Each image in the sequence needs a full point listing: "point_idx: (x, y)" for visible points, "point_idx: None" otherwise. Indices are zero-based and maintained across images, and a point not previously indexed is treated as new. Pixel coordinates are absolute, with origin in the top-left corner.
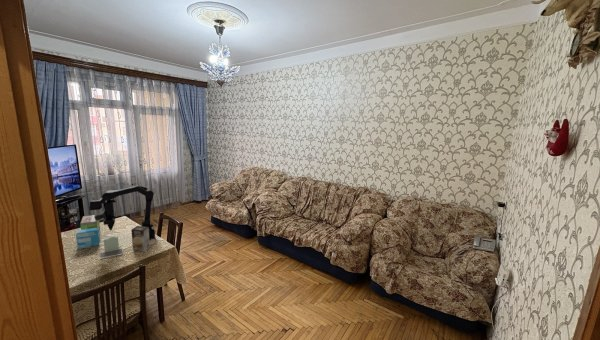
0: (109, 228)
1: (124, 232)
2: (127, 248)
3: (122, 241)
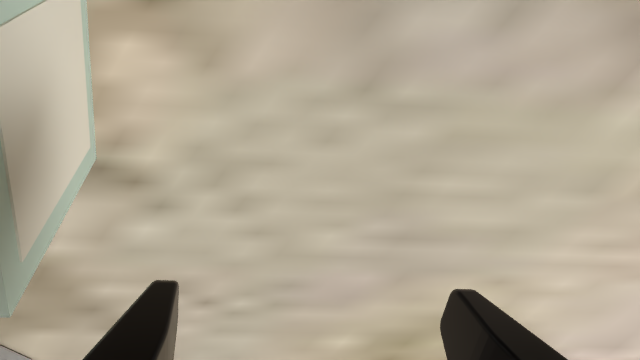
0: (100, 351)
1: (601, 243)
2: None
3: (306, 209)
